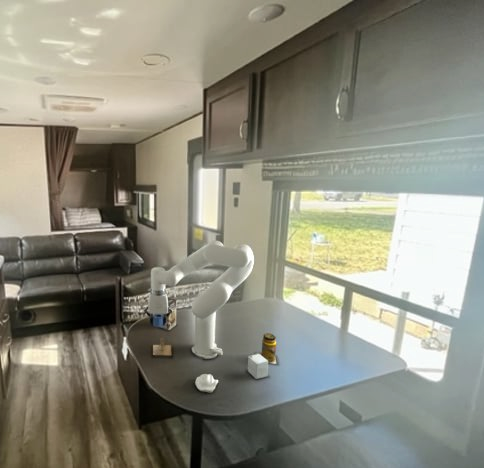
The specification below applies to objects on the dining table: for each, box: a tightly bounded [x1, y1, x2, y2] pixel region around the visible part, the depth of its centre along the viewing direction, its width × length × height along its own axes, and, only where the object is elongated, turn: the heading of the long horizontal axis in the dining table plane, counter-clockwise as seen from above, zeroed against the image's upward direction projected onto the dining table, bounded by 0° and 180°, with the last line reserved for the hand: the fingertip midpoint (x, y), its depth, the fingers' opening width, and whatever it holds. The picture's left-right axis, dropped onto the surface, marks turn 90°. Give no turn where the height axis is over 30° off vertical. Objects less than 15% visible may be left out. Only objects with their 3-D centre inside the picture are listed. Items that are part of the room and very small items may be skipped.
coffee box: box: [160, 297, 177, 331], centre depth 174 cm, size 9×6×16 cm
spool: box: [152, 314, 164, 328], centre depth 156 cm, size 6×6×5 cm
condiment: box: [255, 332, 277, 365], centre depth 141 cm, size 7×8×12 cm
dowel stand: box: [152, 337, 172, 356], centre depth 148 cm, size 9×9×7 cm
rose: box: [194, 373, 219, 393], centre depth 124 cm, size 10×4×10 cm
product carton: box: [247, 353, 269, 380], centre depth 131 cm, size 6×6×7 cm
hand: (158, 323), depth 156 cm, fingers closed on spool, 5 cm apart
